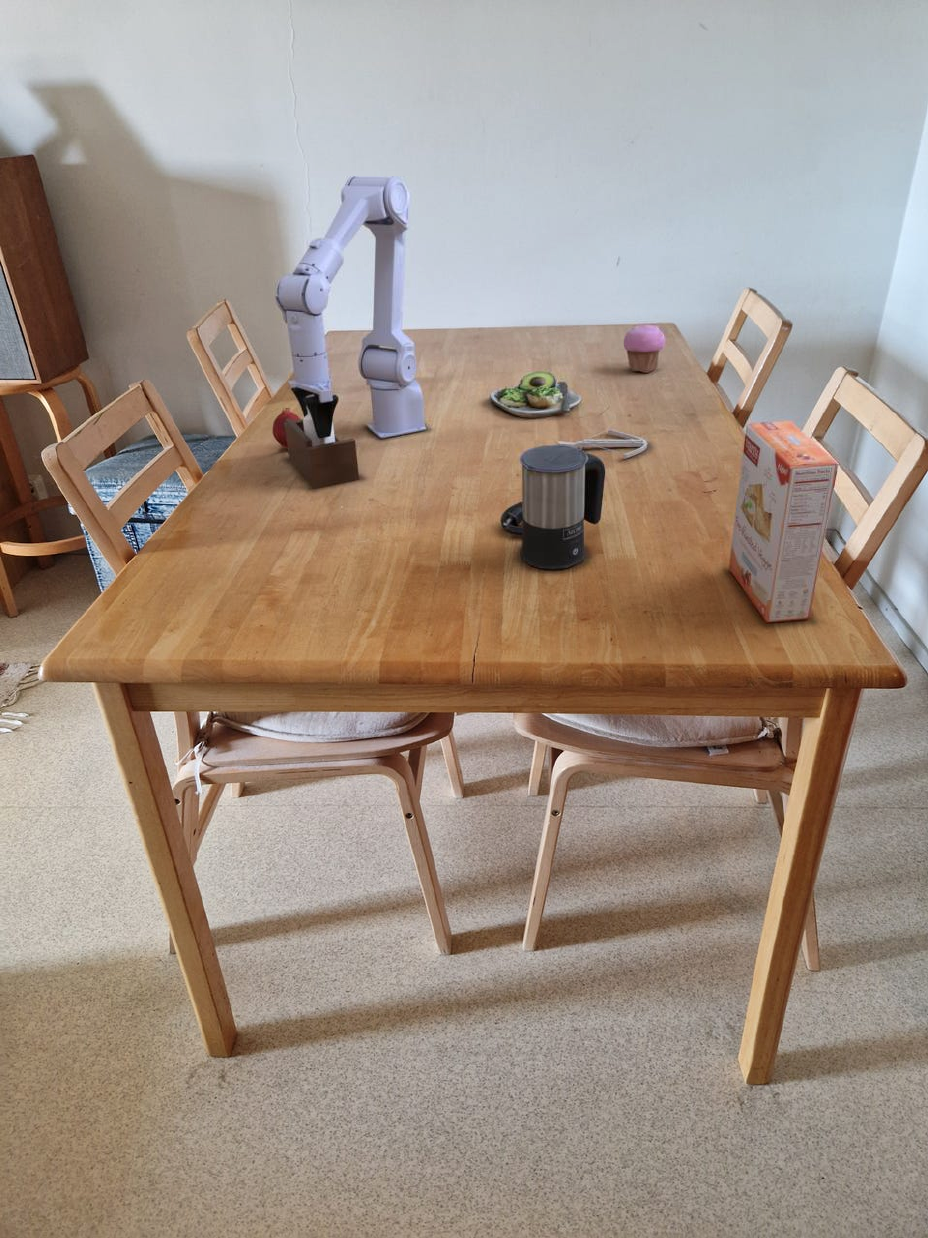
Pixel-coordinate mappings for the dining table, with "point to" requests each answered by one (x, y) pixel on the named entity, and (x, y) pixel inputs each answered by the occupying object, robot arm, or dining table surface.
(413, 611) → the dining table surface
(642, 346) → the cupcake
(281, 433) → the onion
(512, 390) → the salad plate
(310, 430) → the pepper shaker
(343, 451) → the box
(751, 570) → the cracker box
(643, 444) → the crossbow
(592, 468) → the milk frother
